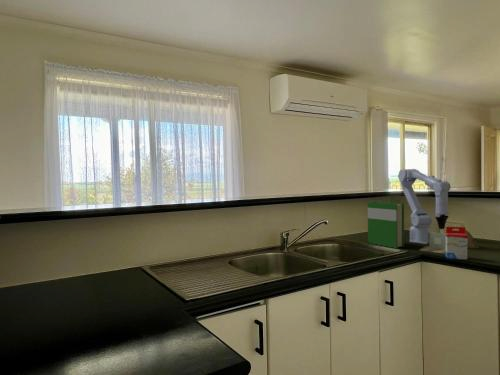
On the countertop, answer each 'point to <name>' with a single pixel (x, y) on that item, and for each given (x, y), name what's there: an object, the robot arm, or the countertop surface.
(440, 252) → the mat
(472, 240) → the rock
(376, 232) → the hardback book
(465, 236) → the ink box
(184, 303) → the countertop surface
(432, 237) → the tile
